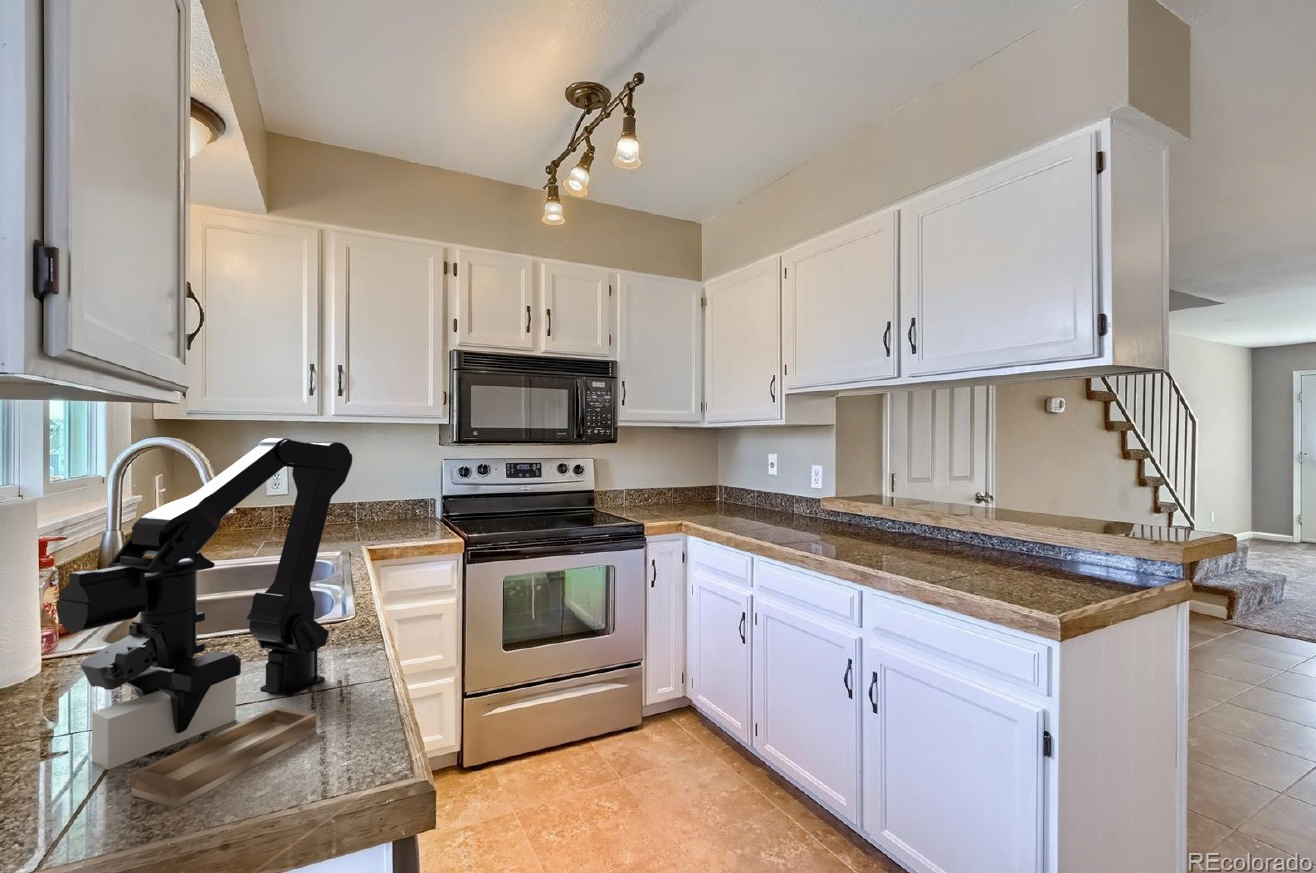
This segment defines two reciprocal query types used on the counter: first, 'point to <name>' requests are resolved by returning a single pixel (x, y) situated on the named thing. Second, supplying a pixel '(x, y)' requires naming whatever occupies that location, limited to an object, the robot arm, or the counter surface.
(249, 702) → the counter surface
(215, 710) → the white rectangular block
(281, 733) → the brown rectangular tray
